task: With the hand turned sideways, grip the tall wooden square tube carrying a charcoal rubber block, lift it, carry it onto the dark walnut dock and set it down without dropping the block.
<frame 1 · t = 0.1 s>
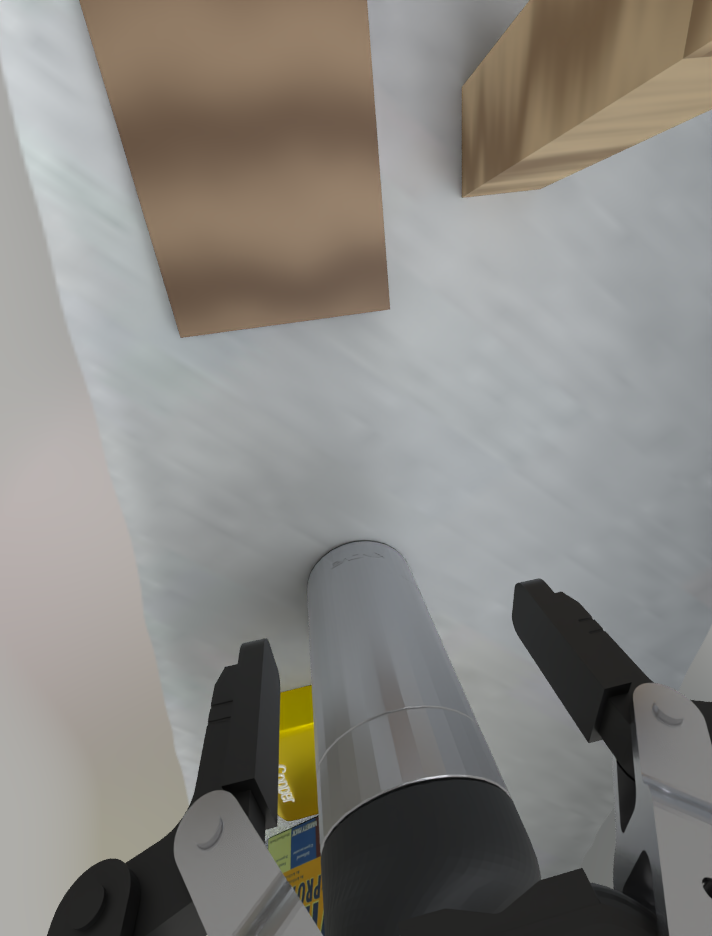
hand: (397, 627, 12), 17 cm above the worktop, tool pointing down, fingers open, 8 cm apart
protein box: (330, 841, 50), on the worktop
wooden square tube: (503, 141, 22), on the worktop, touching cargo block
element tile: (333, 721, 41), on the worktop
dock: (259, 164, 20), on the worktop
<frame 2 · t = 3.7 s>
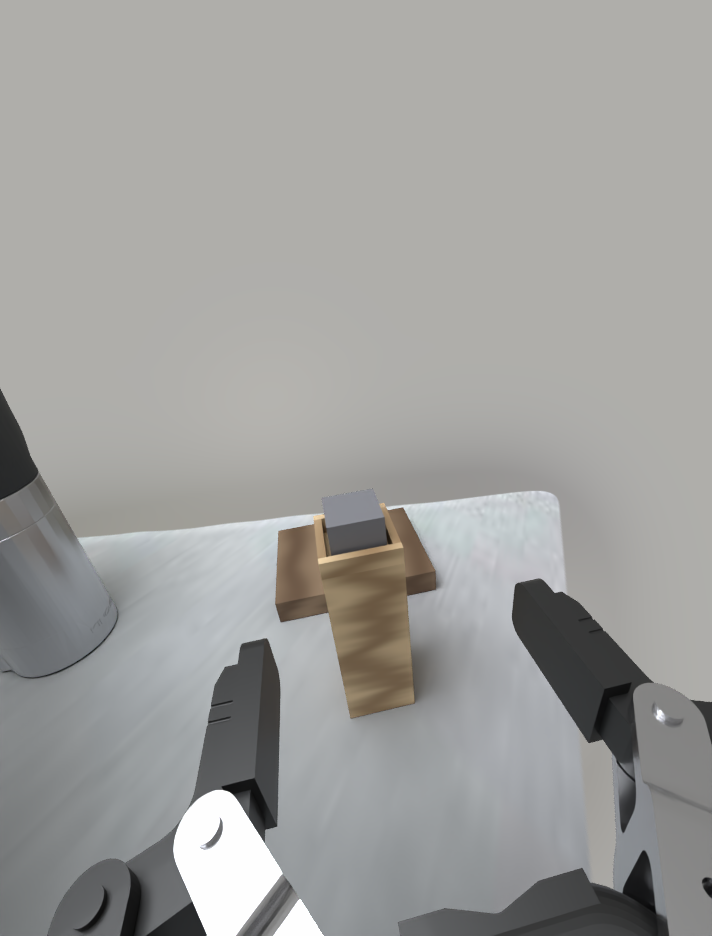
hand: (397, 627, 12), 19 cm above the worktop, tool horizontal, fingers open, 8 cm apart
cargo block: (356, 545, 24), point 14 cm above the worktop, touching wooden square tube
wooden square tube: (376, 679, 31), on the worktop, touching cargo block
dock: (351, 565, 43), on the worktop
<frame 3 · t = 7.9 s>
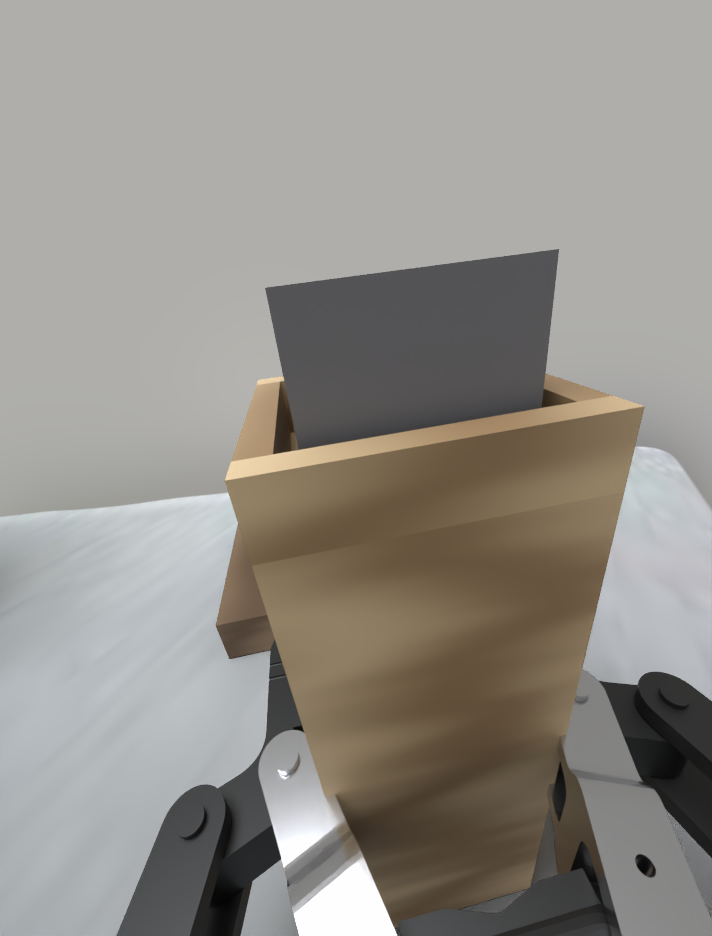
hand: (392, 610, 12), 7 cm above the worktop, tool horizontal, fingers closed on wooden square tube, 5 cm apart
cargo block: (396, 451, 7), point 14 cm above the worktop, touching wooden square tube
wooden square tube: (423, 807, 13), on the worktop, touching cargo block, gripper
dock: (358, 556, 26), on the worktop
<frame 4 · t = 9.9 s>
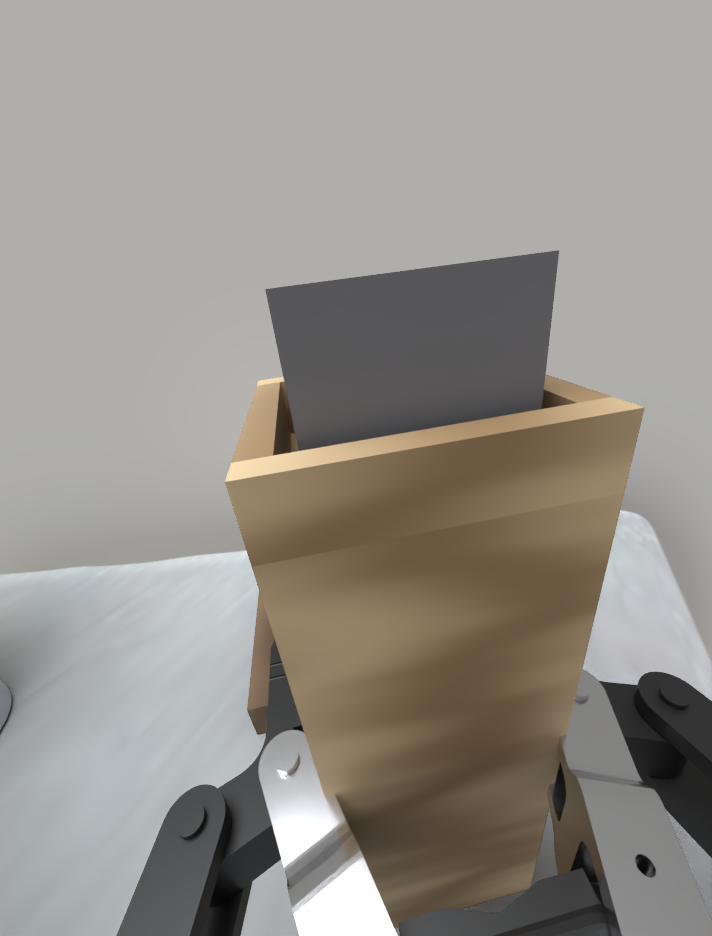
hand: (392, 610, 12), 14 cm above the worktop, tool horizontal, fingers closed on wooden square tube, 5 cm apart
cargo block: (396, 452, 7), point 21 cm above the worktop, touching wooden square tube
wooden square tube: (423, 807, 13), point 7 cm above the worktop, touching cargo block, gripper
dock: (366, 627, 29), on the worktop
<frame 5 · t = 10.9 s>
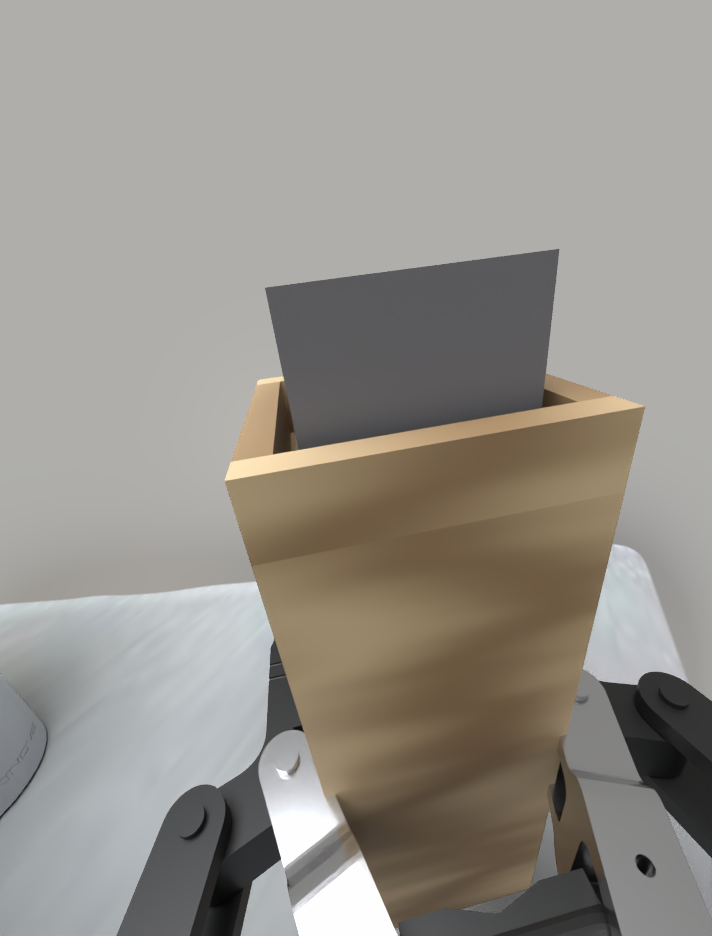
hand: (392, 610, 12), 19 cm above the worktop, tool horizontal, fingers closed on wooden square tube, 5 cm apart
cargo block: (396, 451, 7), point 26 cm above the worktop, touching wooden square tube
wooden square tube: (423, 807, 13), point 12 cm above the worktop, touching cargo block, gripper
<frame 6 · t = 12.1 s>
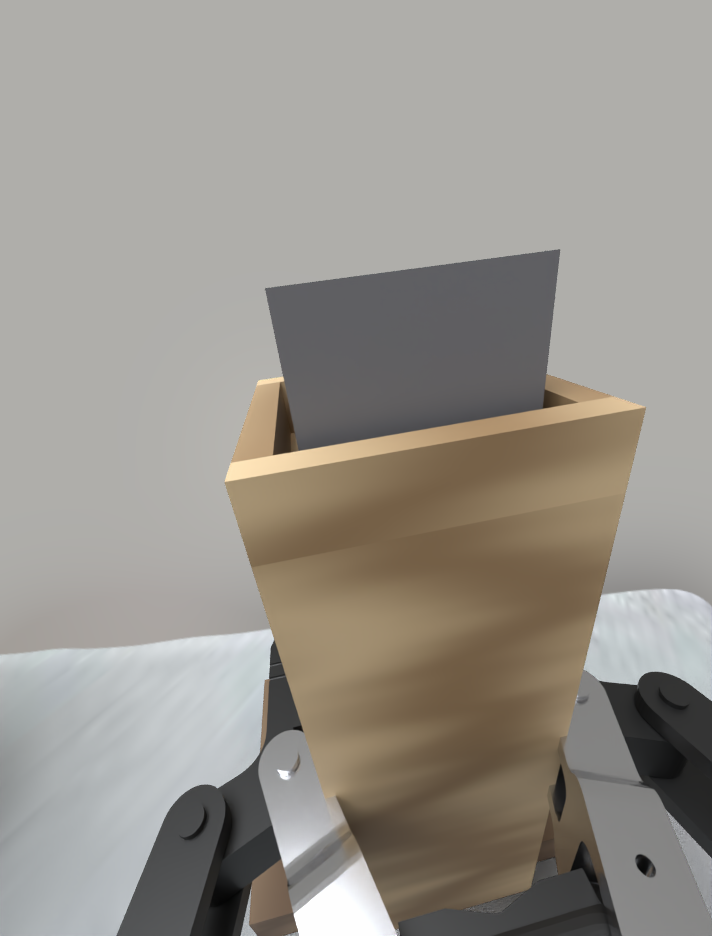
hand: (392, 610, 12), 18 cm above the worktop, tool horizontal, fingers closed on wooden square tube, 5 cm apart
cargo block: (397, 452, 7), point 25 cm above the worktop, touching wooden square tube
wooden square tube: (424, 808, 13), point 11 cm above the worktop, touching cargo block, gripper
dock: (391, 762, 24), on the worktop
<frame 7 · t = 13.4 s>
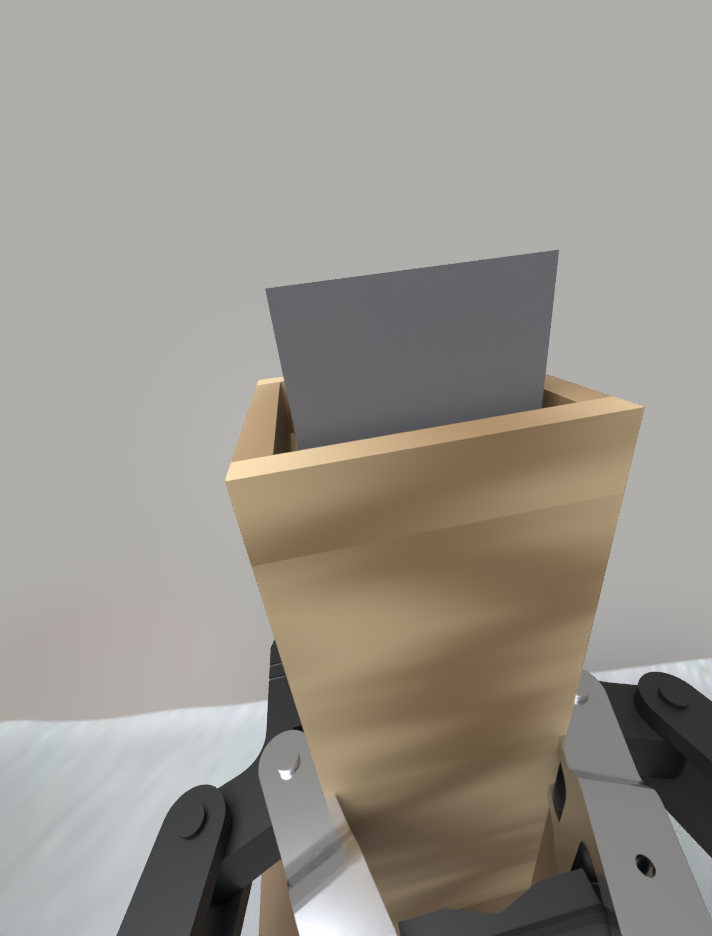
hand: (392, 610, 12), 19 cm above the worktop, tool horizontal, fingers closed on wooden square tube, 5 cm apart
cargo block: (396, 452, 7), point 26 cm above the worktop, touching wooden square tube
wooden square tube: (423, 807, 13), point 12 cm above the worktop, touching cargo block, gripper
dock: (430, 914, 19), on the worktop
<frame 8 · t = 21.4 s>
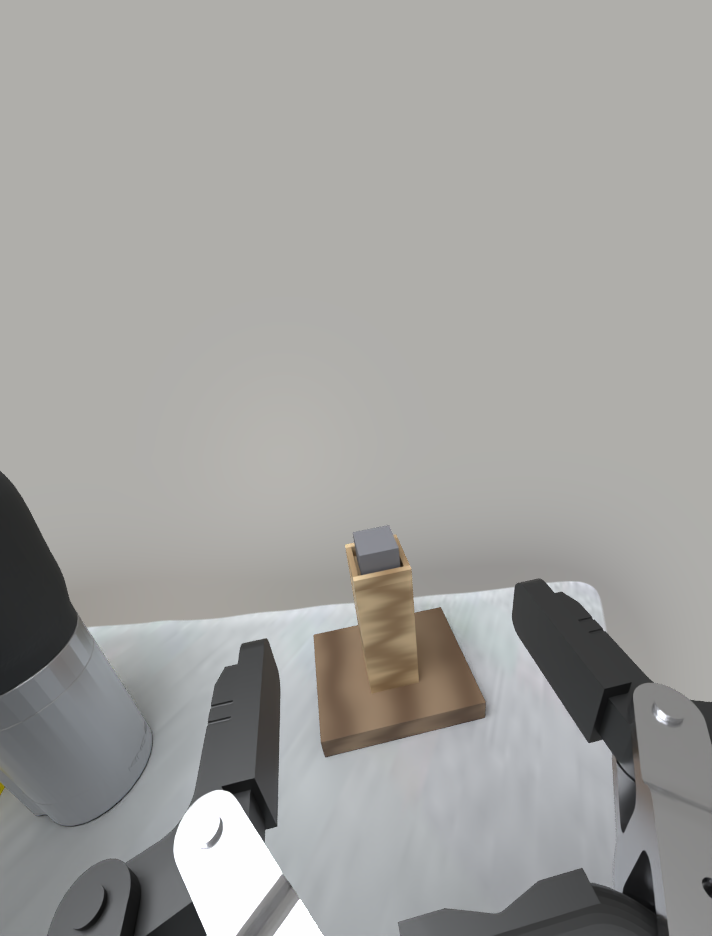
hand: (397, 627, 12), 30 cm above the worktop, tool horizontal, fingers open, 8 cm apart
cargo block: (377, 566, 34), point 16 cm above the worktop, touching wooden square tube
wooden square tube: (389, 665, 40), point 2 cm above the worktop, touching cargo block, dock
dock: (391, 679, 42), on the worktop
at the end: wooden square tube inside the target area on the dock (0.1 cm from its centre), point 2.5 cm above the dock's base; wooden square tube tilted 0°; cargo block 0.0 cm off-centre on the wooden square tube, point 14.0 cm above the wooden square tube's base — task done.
